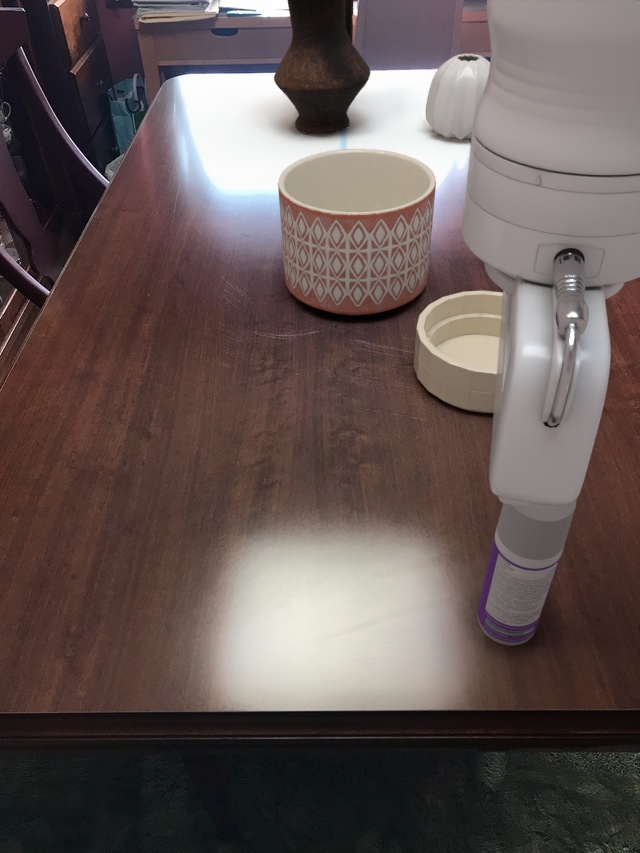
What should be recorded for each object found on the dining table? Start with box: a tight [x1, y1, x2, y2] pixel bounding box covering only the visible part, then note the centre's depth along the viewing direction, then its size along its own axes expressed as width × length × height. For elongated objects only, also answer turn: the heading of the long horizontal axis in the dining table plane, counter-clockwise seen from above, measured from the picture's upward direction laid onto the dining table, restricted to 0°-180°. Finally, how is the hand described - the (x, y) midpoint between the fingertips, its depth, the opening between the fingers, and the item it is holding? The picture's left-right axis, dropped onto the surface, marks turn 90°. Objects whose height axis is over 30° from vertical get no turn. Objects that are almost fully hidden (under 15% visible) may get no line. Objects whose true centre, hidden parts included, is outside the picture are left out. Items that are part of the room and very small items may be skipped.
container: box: [476, 499, 577, 647], centre depth 50 cm, size 5×5×15 cm
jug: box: [273, 0, 371, 135], centre depth 129 cm, size 21×18×30 cm
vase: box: [425, 53, 490, 141], centre depth 129 cm, size 14×14×13 cm
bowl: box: [413, 290, 503, 414], centre depth 77 cm, size 16×16×6 cm
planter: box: [277, 148, 437, 317], centre depth 89 cm, size 19×19×15 cm
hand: (517, 434), depth 39 cm, fingers open, 8 cm apart
